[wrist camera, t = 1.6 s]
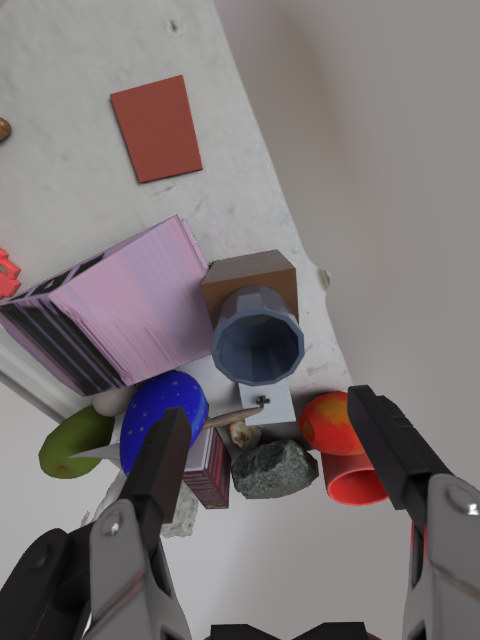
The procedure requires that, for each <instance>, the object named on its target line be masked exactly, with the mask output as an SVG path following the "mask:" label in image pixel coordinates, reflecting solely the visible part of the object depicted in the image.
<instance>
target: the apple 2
mask: <svg viewBox="0 0 480 640" xmlns="http://www.w3.org/2000/svg"><path fill="white" fill-rule="evenodd" d="M347 398H348V393H345V392H341V391H336V392H332V393H328V394H324V395H320V396H318V397H316V398H315V399H314V400H313V401H311V402H310V403H309V404H307V405H306V407H305V408H304V409H303V412H302V414H301V417H300V420H299V425H300V429H301V432H302V433H303V435H304V437H305V439H306V440H307V441H308V442H309V443H310V444H311V445H312V447H313V448H314V449H316V450H318V451H320V452H323V453H328V454H333V455H340V456H346V455H358V454H362V453H363V452H365V450H364V448H363V446H362V444H361V442H360V441H359V439H358V437H357V435H356V433H355V431H354V429H353V427H352V425H351V423H350V421H349V418H348V414H347Z"/></svg>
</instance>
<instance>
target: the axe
mask: <svg viewBox="0 0 480 640" xmlns="http://www.w3.org/2000/svg"><path fill="white" fill-rule="evenodd" d="M262 410H264V408H262V409H261V408H260V407H255V408H250V409H244V410H240V411H235V412H231V413H228V414H224V415H221V416H217V417H214V418H211V419H208V420H206V421H205V424H204V426H203V428H202V430H201V431H203V430H206V429H211V428H215V427H219V426H223V425H226V424H230V423H233V422H236V421H239V420H242V419H245V418H248V417H250V416H252V415H255V414H257V413H259V412H261V411H262ZM119 444H120V443H117V444H114V445H109V446H105V447H100V448H97V449H93V450H89V451H86V452H82V453H79V454H76V455H73V456H70V457H67V458H76V457H95V458H102V459H116V458H118V459H120V454H119Z"/></svg>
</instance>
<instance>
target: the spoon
mask: <svg viewBox="0 0 480 640" xmlns="http://www.w3.org/2000/svg"><path fill="white" fill-rule="evenodd" d="M10 132H11V126H10V125H9V123H8V122H7V121H6V120H4V119H3V118H0V140H2V139H3V138H4V137H5V136H7V135H8V134H9V133H10Z"/></svg>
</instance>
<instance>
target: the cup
mask: <svg viewBox="0 0 480 640" xmlns="http://www.w3.org/2000/svg"><path fill="white" fill-rule="evenodd" d="M210 350H211V353H212V356H213V360H214V363H215V366H216V368H217V369H218V370H220V371H221V372H222V373H223V374H224V375H225V376H226V377H227V378H229V379H230V380H231V381H233V382H237V383H241V384H244V385H248V386H251V387H252V386H253V387H255V386H263V385H271V384H276V383H277V382H279V381H281V380H282V379H284V378H286V377H287V376H289V375H291V374H293V373H294V371H295V370H296V368H297V367H298V365H299V363H300V362H301V360H302V358H303V357H304V355H305V352H304V334H303V332H302V330H301V328H300V326H299V324H298V322H297V320H296V318H295V316H294V314H293V312H292V310H291V308H290V307H289V305H288V304H287V303H286V301H285V300H284V298H283V297H282V296H281V295H280V294H279V293H277V292H276V291H274V290H273V289H270V288H268V287H264V286H258V285H253V286H246V287H243V288H240V289H238V290H236V291H234V292H233V293H231V294H230V295H229V296H228V297H227V298H226V299H225V301H224V302H223V303H222V306H221V308H220V312H219V315H218V318H217V321H216V325H215V330H214V334H213V338H212V342H211V346H210Z"/></svg>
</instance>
